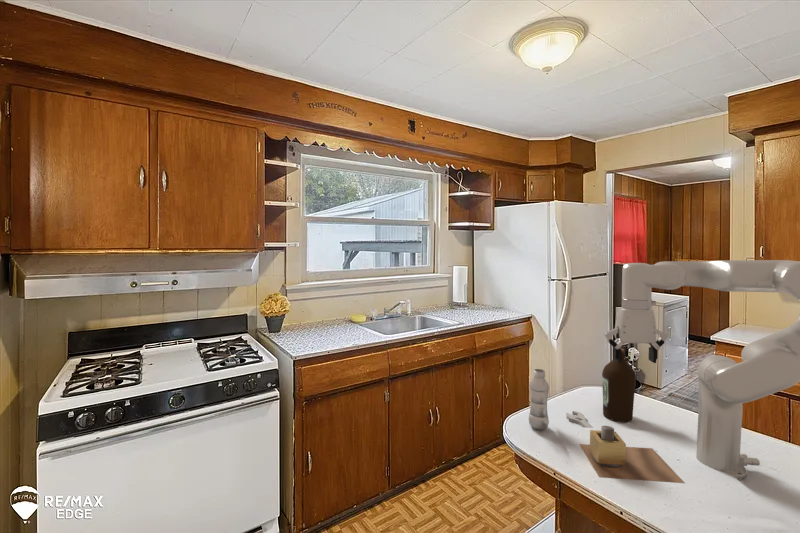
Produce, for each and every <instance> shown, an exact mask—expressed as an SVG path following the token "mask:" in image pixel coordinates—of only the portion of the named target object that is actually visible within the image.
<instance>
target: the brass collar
mask: <svg viewBox="0 0 800 533" xmlns="http://www.w3.org/2000/svg"><path fill="white" fill-rule="evenodd" d="M589 433H590V434H589V445H590V451H591V453H592V454H593V456H594V457H595V459H596V461H597V462H598V463H603V464H618V465H625V452H626V447H627V444H626V442H625V441H624V440H623V439H622V437H621V436H620V435H619V434H618V433H617V431H614V441H603V440H601V430H596V429H595V430H593V429H592V430H591V429H590V430H589Z"/></svg>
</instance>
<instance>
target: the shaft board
mask: <svg viewBox="0 0 800 533" xmlns="http://www.w3.org/2000/svg"><path fill="white" fill-rule="evenodd" d="M600 427H601V430H600V431H601V440H603V441H614V432H615V428H614V427H612V426H610V425H602V426H600ZM578 445H579V446H580V448H581V449H582V452H583V453H584V455H585V456H586V458H587V460H588V461H589V463H590V465H591V466H592V468H593V469H594V471H595V473H596V474H597V476H598V477H599V478H604V479H605V478H606V479H607V478H608V479H621V480H633V481H634V480H635V481H648V482H649V481H650V482H665V483H677V484H685V481H683V479H682V478H681V477H680V476H679V475H678V474H677V473H676V471H675V470H673V469H672V468H671V466H670V465H669V464H668V463H667V462H666V461H665V460H664V459H663V457H661V456H660V455H659V454H658V453H657V452H656V450H655V449H654V448H652V447H651V448H650V447H637V446H636V447H635V446H634V447H631V446H626V452H625V465H618V464H603V463H598V462H597V461H596V459H595V457H594V456H593V454H592V453H591V451H590V444H586V443H585V444H583V443H579V444H578Z"/></svg>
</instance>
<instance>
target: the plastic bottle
mask: <svg viewBox="0 0 800 533" xmlns="http://www.w3.org/2000/svg"><path fill="white" fill-rule="evenodd" d="M532 375H533V378H532V379H531V380H530V381H529V384H528V387H529V396H530V409H529V415H528V424H529V426H530V427H531V428H532V429H535V430H539V431H544V430H547V428H548V427H549V422H550V420H549V415H548V414H549V413H548V397H549V390H550V386H549V383H548V381H547V380H546V371H545V370H544V369H540V368H536V369H535V368H534V369H533V374H532Z"/></svg>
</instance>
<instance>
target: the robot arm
mask: <svg viewBox="0 0 800 533" xmlns="http://www.w3.org/2000/svg"><path fill="white" fill-rule="evenodd" d="M621 270H622V276H621V307H619V308H618V309H617V313H616V318H615V325H614V328H613V329H610V330H608V331H606V332H605V333H603V335H604V337H605V339H606V341H607V342H608V344H610V346H612V347H613V350H612V351H613V356H612V357H613V359H614V358H615V360H616V361H617V362H621V361H622V350H621V349H622V346H623V345H624V344H648V345H649V347H648V360H649V361H650V362H652V363H653V364H657V360H658V357H659V356H658V351H659V350H660V349H661V347H662V346H663V345H664V344H665V342H666V341H667V339H668V337H669V335H668V334H667V333H665V332H663V331H661V330H659V329H657V323H656V316H655V312H654V309H653V306H657V301H656V300H653V299H652V288H654V289H661V290H667V291H668V290H670V291H671V290H672V291H673V290H677V289H679V288H681V287H697V288H705V289H706V288H707V289H711V290H716V291H722V292H738V293H739V292H740V293H742V292H743V293H747V292H748V293H783V294H784V293H785V294H789V295H791V296H792V297H794V298H795V299H796V300H798V301H799V302H800V261H798V260H790V259H789V260H787V259H768V260H767V259H763V260H762V259H758V260H757V259H756V260H755V259H754V260H753V259H752V260H751V259H750V260H749V259H748V260H747V259H746V260H743V259H741V260H740V259H739V260H734V259H732V260H731V259H729V260H723V259H722V260H706V261H705V260H697V261H696V260H694V261H693V260H692V261H690V260H689V261H687V260H683V261H682V260H678V261H677V260H675V261H673V260H671V261H670V260H669V261H666V260H664V261H658V262H656V263H655V264H649V263H645V262H628V263H627V262H626V263H625V264H623V266H622V269H621ZM657 335H658V336H659V338H658V339H657ZM612 336H614V338H615V340H613V338H612ZM620 348H621V349H620ZM740 353H741V354H740V356H741V360H742V361H741V362H737V361H736V360H733V359H732V358H730V357H727V356H724V355H719V354H713V355H709V356H707V357H705V358H704V359H702V361H701V362H700V364H699V365H698V368H697V382H698V413H697V430H696V431H697V435H696V436H697V437H696V452H695V453H696V454H695V457H696V460H698V462H699V463H701V464H702V465H704V466H706V467H708V468H711V469H713V470H717V471H721V472H725V473H726V472H727V473H729V474H731V475H732V477H734V478H735V479H736V480H742V479H744V478H747V475H748V474H747V472H748V470H747V468H746V467H747V466H760V465H761V463H760V459H759V458H757V457H748V455H747V454H746V453H741V444H742V442H741V441H742V440H741V439H742V427H743V426H742V424H743V408H744V407H743V406H744V405H743V404H745V403H750V402H754V401H756V400H760V399H762V398H765V397H768V396H770V395H773V394H777V393H778V392H781V391H784V390H788V389H789V388H791V387H794V386H795V385H797V384H798V383H800V314H799V315H798V318H797V320H795V322H793V323H792V324H791V325H790V326H788V327H785V328H783V329H781V330H779V331H777V332H774V333H771V334H769V335H767V336H764V337H762V338H759V339H757V340H754V341H752V342H750V343H748V344H746V345H745V346H744V347H743V348H742V350H741V352H740Z"/></svg>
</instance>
